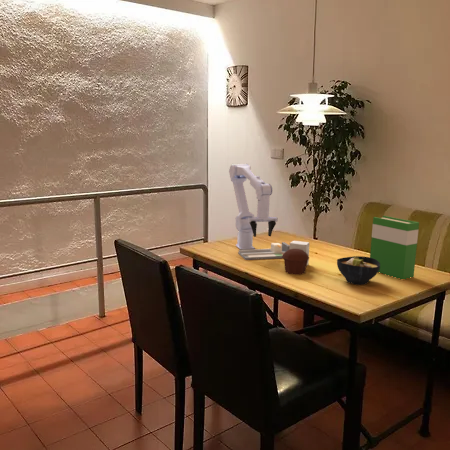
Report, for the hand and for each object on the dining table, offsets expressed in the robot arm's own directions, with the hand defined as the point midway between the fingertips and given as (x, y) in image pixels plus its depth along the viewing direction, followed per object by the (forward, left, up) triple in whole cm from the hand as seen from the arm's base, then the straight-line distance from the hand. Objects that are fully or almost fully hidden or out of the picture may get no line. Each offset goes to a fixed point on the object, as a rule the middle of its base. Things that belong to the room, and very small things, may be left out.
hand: (262, 236), depth 234 cm
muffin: (+30, +5, -10) cm, 32 cm away
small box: (+20, +11, -10) cm, 25 cm away
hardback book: (+40, +46, -10) cm, 62 cm away
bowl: (+48, +25, -10) cm, 55 cm away
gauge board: (+2, +1, -9) cm, 10 cm away
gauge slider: (+2, +8, -8) cm, 11 cm away
